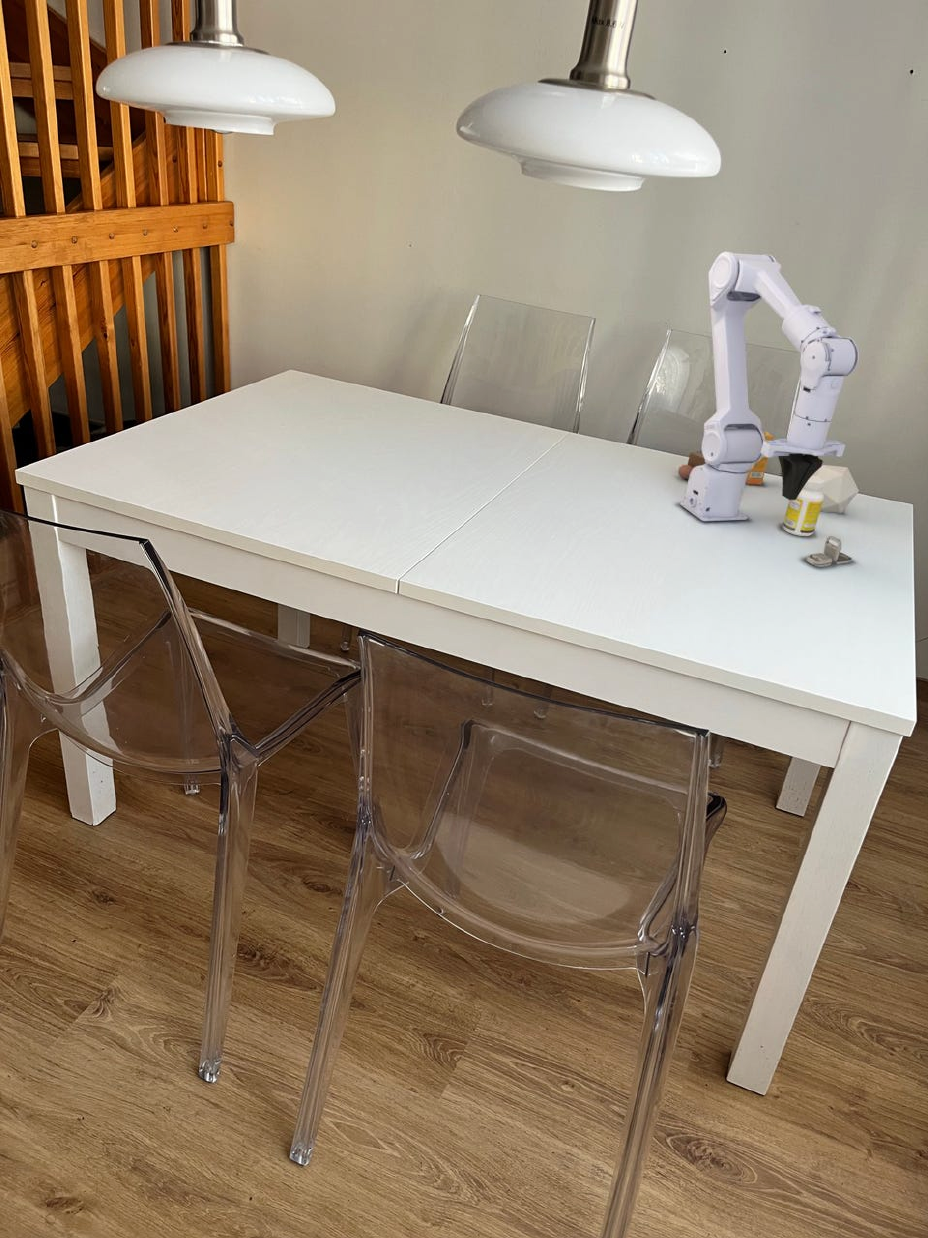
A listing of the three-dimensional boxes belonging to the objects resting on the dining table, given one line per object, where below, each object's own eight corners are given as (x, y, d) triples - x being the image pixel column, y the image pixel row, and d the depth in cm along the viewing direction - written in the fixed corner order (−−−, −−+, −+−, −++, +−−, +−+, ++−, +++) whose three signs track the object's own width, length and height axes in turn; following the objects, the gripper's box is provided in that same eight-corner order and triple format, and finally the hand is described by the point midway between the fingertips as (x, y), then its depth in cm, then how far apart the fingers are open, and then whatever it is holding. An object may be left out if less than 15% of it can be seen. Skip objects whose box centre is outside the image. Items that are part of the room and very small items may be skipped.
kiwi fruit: (706, 480, 189) (709, 467, 188) (686, 482, 186) (689, 469, 185) (687, 470, 193) (689, 457, 192) (667, 472, 190) (670, 460, 189)
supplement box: (739, 478, 193) (752, 429, 188) (756, 479, 193) (769, 431, 189) (745, 484, 190) (758, 435, 185) (762, 485, 190) (775, 436, 186)
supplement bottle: (814, 529, 172) (830, 477, 168) (810, 539, 168) (827, 486, 163) (783, 521, 174) (798, 470, 169) (779, 531, 170) (794, 478, 165)
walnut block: (704, 485, 187) (710, 460, 184) (684, 476, 190) (690, 452, 188) (720, 481, 190) (726, 457, 187) (700, 473, 193) (706, 449, 191)
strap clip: (816, 568, 157) (824, 544, 155) (802, 560, 159) (810, 536, 157) (852, 562, 161) (860, 538, 159) (838, 554, 163) (846, 531, 161)
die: (841, 525, 178) (876, 481, 177) (805, 496, 176) (839, 451, 176) (821, 523, 186) (854, 481, 185) (786, 495, 185) (819, 453, 184)
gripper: (790, 424, 145) (766, 508, 152) (866, 424, 150) (840, 505, 157) (762, 409, 151) (741, 491, 157) (837, 410, 156) (813, 489, 162)
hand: (789, 497), depth 157 cm, fingers closed
